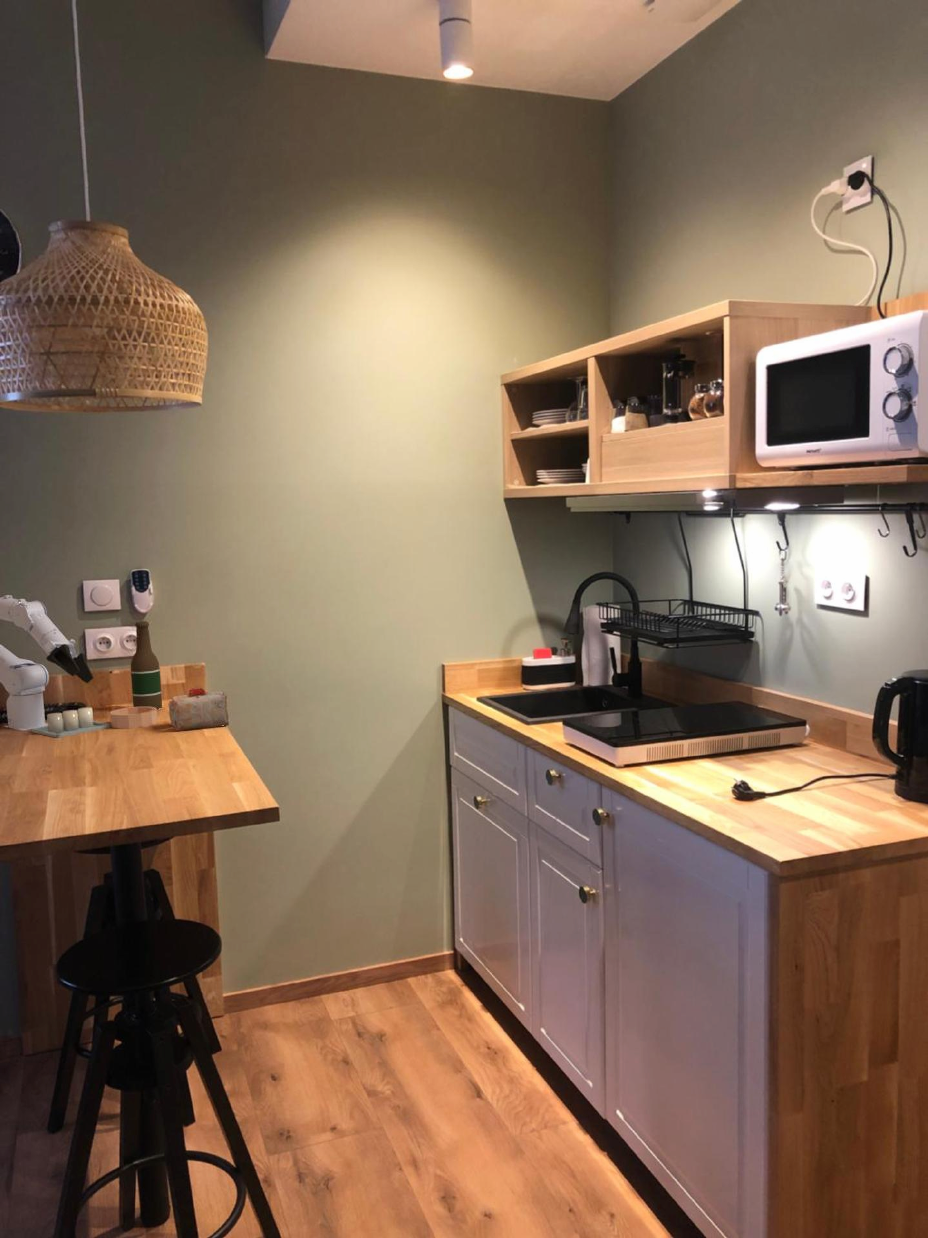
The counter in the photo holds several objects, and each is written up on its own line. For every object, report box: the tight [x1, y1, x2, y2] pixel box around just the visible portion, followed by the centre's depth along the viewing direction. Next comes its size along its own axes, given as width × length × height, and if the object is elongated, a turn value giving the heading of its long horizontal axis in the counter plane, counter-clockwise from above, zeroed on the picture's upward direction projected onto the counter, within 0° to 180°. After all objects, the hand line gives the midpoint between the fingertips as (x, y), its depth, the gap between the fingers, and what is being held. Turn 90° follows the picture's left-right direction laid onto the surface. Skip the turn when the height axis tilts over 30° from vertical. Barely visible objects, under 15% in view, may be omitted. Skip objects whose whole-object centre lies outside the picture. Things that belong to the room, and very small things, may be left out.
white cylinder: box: [46, 712, 63, 734], centre depth 252 cm, size 3×3×4 cm
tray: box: [30, 719, 112, 739], centre depth 255 cm, size 13×14×1 cm
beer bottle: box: [130, 620, 163, 711], centre depth 279 cm, size 8×8×24 cm
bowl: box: [109, 706, 158, 730], centre depth 259 cm, size 11×11×4 cm
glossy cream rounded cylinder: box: [62, 709, 79, 731], centre depth 255 cm, size 3×3×4 cm
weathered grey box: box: [168, 686, 230, 732], centre depth 255 cm, size 14×8×10 cm, turn 112°
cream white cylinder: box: [77, 706, 94, 728], centre depth 258 cm, size 3×3×4 cm
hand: (83, 676), depth 251 cm, fingers open, 7 cm apart
